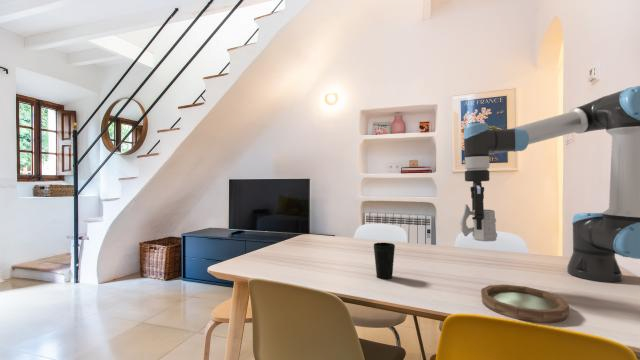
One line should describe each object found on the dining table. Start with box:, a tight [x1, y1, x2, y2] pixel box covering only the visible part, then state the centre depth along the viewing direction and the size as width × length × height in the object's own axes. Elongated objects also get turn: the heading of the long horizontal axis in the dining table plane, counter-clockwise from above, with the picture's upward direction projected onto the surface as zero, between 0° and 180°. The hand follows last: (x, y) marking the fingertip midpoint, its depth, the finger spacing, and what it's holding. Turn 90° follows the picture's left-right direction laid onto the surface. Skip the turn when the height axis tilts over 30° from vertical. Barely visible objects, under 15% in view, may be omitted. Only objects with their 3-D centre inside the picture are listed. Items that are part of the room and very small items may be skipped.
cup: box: [373, 242, 396, 280], centre depth 116 cm, size 8×8×12 cm
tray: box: [480, 284, 570, 324], centre depth 88 cm, size 20×20×3 cm
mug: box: [459, 203, 498, 242], centre depth 106 cm, size 8×12×12 cm, turn 90°
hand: (478, 237), depth 107 cm, fingers closed on mug, 7 cm apart
